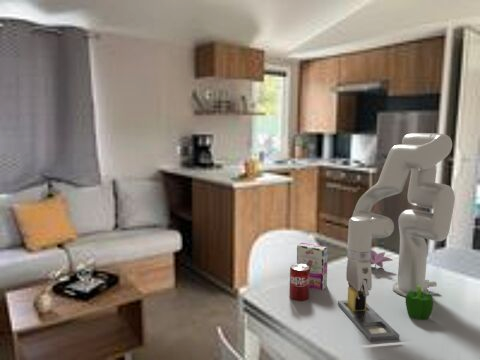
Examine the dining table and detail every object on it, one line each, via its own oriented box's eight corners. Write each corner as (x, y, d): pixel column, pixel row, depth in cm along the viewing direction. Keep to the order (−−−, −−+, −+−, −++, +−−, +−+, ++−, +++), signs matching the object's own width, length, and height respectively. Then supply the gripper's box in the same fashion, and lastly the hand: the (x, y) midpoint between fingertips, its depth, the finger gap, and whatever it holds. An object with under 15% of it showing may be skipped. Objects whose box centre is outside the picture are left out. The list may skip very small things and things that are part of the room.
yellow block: (359, 306, 135) (360, 286, 134) (365, 313, 131) (366, 291, 130) (347, 307, 135) (348, 287, 134) (352, 314, 130) (353, 292, 129)
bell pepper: (430, 325, 124) (432, 295, 123) (402, 318, 128) (404, 289, 127) (433, 314, 131) (435, 286, 130) (407, 308, 136) (409, 281, 134)
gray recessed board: (362, 304, 138) (362, 299, 138) (399, 341, 115) (399, 335, 115) (337, 306, 137) (338, 300, 137) (370, 343, 114) (370, 337, 113)
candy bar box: (327, 287, 153) (328, 246, 151) (322, 291, 149) (323, 250, 147) (301, 280, 159) (302, 241, 157) (295, 284, 155) (296, 244, 153)
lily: (395, 274, 169) (394, 252, 173) (383, 270, 162) (381, 247, 165) (369, 276, 177) (368, 254, 181) (357, 272, 170) (355, 250, 173)
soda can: (309, 303, 139) (310, 271, 137) (288, 301, 140) (289, 269, 139) (309, 295, 146) (310, 264, 144) (290, 293, 148) (290, 262, 146)
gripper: (382, 262, 122) (379, 317, 125) (358, 245, 139) (356, 294, 141) (359, 263, 121) (357, 318, 124) (338, 246, 138) (336, 296, 140)
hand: (356, 305), depth 133 cm, fingers closed on yellow block, 4 cm apart
